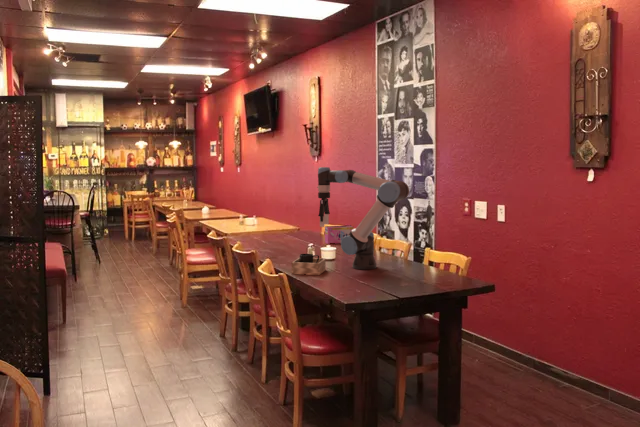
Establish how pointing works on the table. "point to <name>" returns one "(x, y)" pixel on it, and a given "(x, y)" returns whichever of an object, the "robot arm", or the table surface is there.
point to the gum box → (336, 233)
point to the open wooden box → (309, 267)
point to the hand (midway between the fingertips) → (324, 225)
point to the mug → (307, 258)
